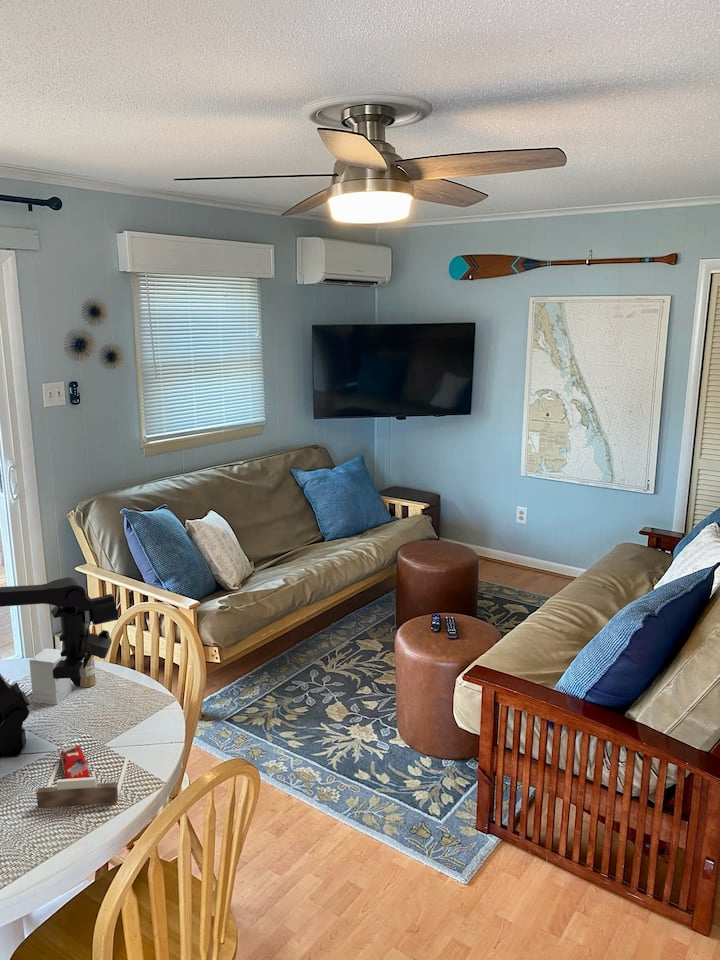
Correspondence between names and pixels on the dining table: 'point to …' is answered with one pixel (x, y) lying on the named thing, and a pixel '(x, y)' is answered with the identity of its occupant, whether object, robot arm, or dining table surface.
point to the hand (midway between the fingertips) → (78, 685)
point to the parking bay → (78, 791)
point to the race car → (74, 763)
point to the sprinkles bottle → (89, 673)
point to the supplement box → (48, 678)
